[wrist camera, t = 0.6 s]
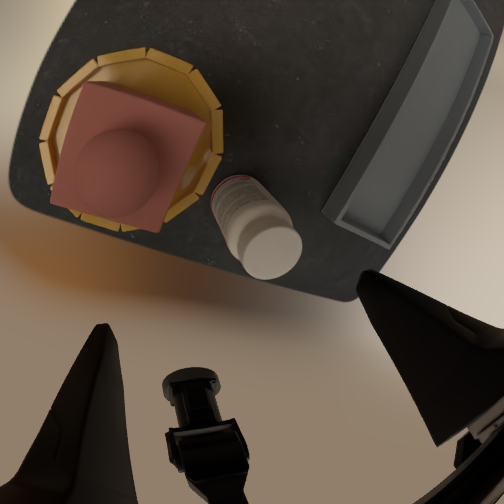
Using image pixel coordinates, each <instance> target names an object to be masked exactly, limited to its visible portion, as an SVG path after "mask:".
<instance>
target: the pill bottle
mask: <svg viewBox="0 0 504 504" xmlns="http://www.w3.org/2000/svg"><path fill="white" fill-rule="evenodd" d="M211 209H212V213H213V215H214V217H215V219H216V221H217V223H218V226H219V228H220V230H221V232H222V235H223V237H224V239H225V241H226V244H227V246H228V248H229V250H230V252H231V253H232V254H233V256H234V257H235V258H237V259H238V260H240V261H241V263H242V264H243V266H244V268H245V270H246V271H247V272H248V273H249V274H250V275H251V276H253V277H255V278H258V279H264V280H266V279H273V278H277V277H279V276H281V275H283V274H285V273H287V272H288V271H289V270H290V269H291V268H292V267H293V266H294V265H295V264H296V263H297V261H298V259H299V258H300V255H301V252H302V241H301V238H300V236H299V234H298V233H297V232H296V230H295V229H294V228H293V225H292V220H291V218H290V216H289V214H288V213H287V211H286V210H285V209H284V208H283V207H282V206H281V205H280V204H279V203H278V202H277V200H276V199H275V198H274V197H273V196H272V195H271V194H270V193H269V192H268V191H267V190H266V189H265V188H264V187H263V186H262V185H261V183H260V182H258V181H257V180H256V179H254V178H253V177H250V176H247V175H234V176H230V177H228V178H226V179H224V180H223V181H222V182H221V183H220V184H219V185H218V186H217V187H216V188H215V190H214V192H213V194H212V197H211Z"/></svg>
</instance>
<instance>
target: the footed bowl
mask: <svg viewBox="0 0 504 504" xmlns="http://www.w3.org/2000/svg"><path fill="white" fill-rule="evenodd" d="M97 58H98V61H97V60H96V59H92V60H90V61H89V62H88V63H87V64H86V65H84V66H83V67H82V68H81V69H80V70H79V71H77V72H76V73H75V74H74V75H73V76H72V77H71V78H70V79H68V80H67V81H66V82H65V83H64V84H63V85H62V86H61V87H60V88H59V89H58V90H57V92H58V93H59V94H57V95H54V96H53V98H52V101H51V104H50V106H49V109H48V112H47V115H46V118H45V121H44V124H43V128H42V131H41V134H40V138H39V139H41V140H44V141H42V142H41V143H39V146H40V152H41V157H42V162H43V166H44V171H45V175H46V179H47V184H48V185H50V184H53V183H54V179H55V174H56V170H57V165H58V161H59V157H60V153H61V150H62V146H63V143H64V139H65V136H66V132H67V129H68V126H69V123H70V120H71V117H72V114H73V111H74V108H75V105H76V102H77V100H78V97H79V94H80V92H81V89H82V87H83V84H84V83H85V82H86V81H106V82H109V83H112V84H116V85H119V86H122V87H126V88H129V89H132V90H135V91H138V92H141V93H144V94H147V95H150V96H153V97H155V98H158V99H161V100H164V101H166V102H169V103H172V104H174V105H177V106H180V107H182V108H185V109H187V110H190V111H193V112H194V113H195V114H196V115H198V116H199V117H200V118H201V119H203V120H204V121H205V122H206V126H205V128H204V130H203V132H202V134H201V137H200V139H199V141H198V143H197V145H196V147H195V149H194V151H193V153H192V156H191V158H190V160H189V162H188V164H187V167H186V169H185V171H184V173H183V176H182V178H181V180H180V182H179V185H178V187H177V190H176V192H175V194H174V197H173V199H172V201H171V204H170V206H169V209H168V211H167V214H166V216H165V219H164V222H165V223H167V222H168V221H169V220H171V219H172V218H174V217H175V216H176V215H178V214H179V213H180V212H182V211H183V210H184V209H186V208H187V207H189V206H190V205H191V204H193V203H194V202H196V201H197V200H198V199H199V196H198V194H200V195H203V194H204V192H205V190H206V188H207V186H208V184H209V182H210V180H211V178H212V176H213V174H214V172H215V171H216V169H217V167H218V165H219V163H220V161H221V159H222V157H221V156H220V154H219V153H223V152H224V149H223V110H222V109H217V108H219V107H220V106H221V104H220V102H219V101H218V99H217V98H216V96H215V95H214V93H213V92H212V90H211V88H210V87H209V85H208V84H207V82H206V81H205V79H204V78H203V76H202V75H201V73H200V72H199V70H198V69H195V70H192V68H193V65H192V64H189V63H187V62H185V61H183V60H180V59H178V58H176V57H173V56H171V55H168V54H166V53H163V52H161V51H158V50H156V49H153V48H150V49H149V51H146V48H145V47H143V48H136V49H130V50H124V51H119V52H114V53H109V54H104V55H100V56H98V57H97ZM52 188H53V185H52V186H51V187H50V189H51V191H52ZM197 193H198V194H197ZM68 209H69V208H68ZM69 210H70V211H71V212H72V213H73V214H74V215H75V216H76V217H78V216H79V215H80V214H81V213H82V215H81V220H82V221H85V222H88V223H92V224H95V225H98V226H101V227H104V228H108V229H111V230H114V231H119V228H120V225H121V229H122V231H123V232H124V231H130V230H135V229H140V228H136V227H133V226H129V225H126V224H122V223H118V222H115V221H111V220H108V219H104V218H101V217H97V216H93V215H90V214H86V213H83V212H79V211H76V210H72V209H69Z"/></svg>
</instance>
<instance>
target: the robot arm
mask: <svg viewBox="0 0 504 504" xmlns="http://www.w3.org/2000/svg"><path fill="white" fill-rule="evenodd" d="M356 291H357V294H358V296H359V298H360V301H361V303H362V305H363V307H364V309H365V311H366V313H367V315H368V318H369V319H370V322H371V324H372V326H373V328H374V329H375V331H376V333H377V334H378V336H379V338H380V339H381V341H382V343H383V345H384V347H385V348H386V350H387V352H388V354H389V355H390V357H391V359H392V360H393V362H394V364H395V366H396V368H397V370H398V372H399V373H400V375H401V377H402V379H403V381H404V383H405V384H406V386H407V388H408V390H409V392H410V394H411V396H412V398H413V400H414V402H415V404H416V406H417V407H418V410H419V412H420V414H421V416H422V418H423V420H424V422H425V424H426V426H427V428H428V430H429V432H430V435H431V437H432V439H433V441H434V443H435V445H436V446H437V447H439V446H440V445H442V444H443V443H445V442H446V441H448V440H449V439H451V438H452V437H454V436H455V435H456V434H458V433H459V432H461V431H462V430H463V429H465V428H466V427H467V428H468V430H469V431H468V432H467V433H466V434H465V435H464V436H463V437H461V438H460V439H459V440H458V441H457V448H456V454H455V460H454V467H455V468H456V470H455V471H454V472H453V473H451V474H450V475H449V476H448V477H447V478H446V479H444V480H443V481H442V482H441V483H440V484H439V485H437V486H436V487H435V488H433V489H432V490H431V491H430V492H428V493H427V494H426V495H424V496H423V497H422V498H420V499H419V500H418V501H416V502H415V503H413V504H495V503H496V502H497V501H498V500H499V499H500V497H501V496H502V495H503V494H504V329H500V328H496V327H494V326H492V325H489V324H487V323H484V322H482V321H480V320H477V319H475V318H473V317H471V316H468V315H466V314H464V313H462V312H459V311H458V310H456V309H454V308H452V307H450V306H447V305H445V304H443V303H441V302H439V301H437V300H435V299H433V298H431V297H429V296H427V295H425V294H423V293H421V292H419V291H417V290H415V289H413V288H411V287H409V286H406V285H404V284H402V283H400V282H398V281H395V280H394V279H392V278H390V277H387V276H385V275H383V274H381V273H379V272H377V271H375V270H372V269H369V270H365V271H362V272H361V274H360V277H359V280H358V284H357V287H356ZM168 385H169V395H170V404H171V406H175V410H176V415H177V420H178V424H179V428H169V432H167V433H165V437H166V441H167V447H168V454H169V460H170V462H171V463H172V464H173V465H175V466H176V468H177V469H178V471H179V473H182V472H185V476H186V479H187V481H188V484H189V486H190V488H191V489H192V490H193V491H195V492H196V493H197V494H198V495H199V496H200V497H202V498H203V499H204V500H205V501H206V502H207V503H208V504H248V501H247V499H246V496H245V494H244V491H243V489H244V485H245V481H246V477H247V474H248V470H249V464H248V460H249V451H248V448H247V444H246V442H245V439H244V437H243V435H242V433H241V431H240V429H239V427H238V424H237V422H236V420H235V418H232V419H230V420H225V421H222V419H221V416H220V412H219V409H218V406H217V402H216V399H215V393H216V387H217V379H216V378H208V379H200V380H190V381H180V382H170V383H169V384H168ZM51 409H52V410H51ZM51 409H50V410H49V412H48V415H47V417H46V419H45V421H44V423H43V425H42V427H41V429H40V431H39V433H38V435H37V437H36V439H35V440H34V442H33V444H32V446H31V448H30V449H29V451H28V453H27V455H26V457H25V459H24V460H23V462H22V464H21V466H20V468H19V470H18V472H17V473H16V474H15V476H14V477H13V478H12V479H11V480H10V481H9V482H7V483H6V484H4V485H2V486H1V487H0V504H138V501H137V496H136V491H135V486H134V480H133V474H132V468H131V461H130V454H129V447H128V437H127V429H126V417H125V404H124V388H123V381H122V374H121V367H120V360H119V352H118V344H117V340H116V338H115V336H114V334H113V332H112V330H111V328H110V326H109V324H107V323H104V324H97V325H96V326H95V327H94V329H93V330H92V332H91V334H90V335H89V337H88V339H87V341H86V342H85V344H84V346H83V348H82V349H81V351H80V353H79V355H78V356H77V358H76V360H75V362H74V364H73V365H72V367H71V369H70V371H69V373H68V375H67V377H66V379H65V380H64V382H63V384H62V386H61V388H60V390H59V392H58V394H57V396H56V398H55V400H54V402H53V404H52V406H51Z"/></svg>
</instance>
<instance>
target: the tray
mask: <svg viewBox="0 0 504 504" xmlns="http://www.w3.org/2000/svg"><path fill="white" fill-rule="evenodd" d="M493 39H494V35H493V33H492V31H491V29H490V28H489V26H488V24H487V22H486V20H485V18H484V17H483V15H482V13H481V12H480V10H479V8H478V7H477V5H476V3H475V2H474V0H435V2H434V4H433V6H432V8H431V10H430V12H429V14H428V17H427V19H426V21H425V23H424V25H423V27H422V29H421V31H420V33H419V35H418V37H417V39H416V41H415V43H414V45H413V47H412V49H411V51H410V53H409V55H408V57H407V59H406V61H405V63H404V65H403V67H402V69H401V70H400V72H399V74H398V76H397V78H396V80H395V82H394V84H393V86H392V88H391V89H390V91H389V93H388V95H387V97H386V99H385V101H384V102H383V104H382V106H381V108H380V110H379V112H378V113H377V115H376V117H375V119H374V121H373V122H372V124H371V126H370V128H369V130H368V131H367V133H366V135H365V137H364V138H363V140H362V142H361V144H360V146H359V147H358V149H357V151H356V153H355V154H354V156H353V158H352V159H351V161H350V163H349V165H348V166H347V168H346V170H345V171H344V173H343V175H342V177H341V178H340V180H339V182H338V183H337V185H336V187H335V188H334V190H333V192H332V193H331V195H330V197H329V199H328V200H327V202H326V204H325V205H324V207H323V208H322V210H321V212H322V213H323V214H324V215H325V216H326V217H327V218H329V219H330V220H331V221H332V222H333V223H334V224H336V225H339V226H341V227H343V228H345V229H347V230H349V231H352V232H354V233H356V234H358V235H360V236H362V237H364V238H366V239H368V240H370V241H372V242H374V243H377V244H379V245H381V246H383V247H385V248H387V249H389V250H390V248H391V247H392V245H393V244H394V242H395V241H396V239H397V238H398V236H399V235H400V233H401V232H402V230H403V229H404V227H405V225H406V224H407V222H408V221H409V219H410V217H411V216H412V214H413V213H414V211H415V209H416V208H417V206H418V204H419V203H420V201H421V199H422V198H423V196H424V194H425V193H426V191H427V189H428V187H429V186H430V184H431V182H432V180H433V178H434V177H435V175H436V173H437V171H438V169H439V167H440V166H441V164H442V162H443V160H444V158H445V156H446V154H447V152H448V150H449V148H450V146H451V144H452V142H453V140H454V138H455V136H456V134H457V132H458V130H459V128H460V125H461V123H462V121H463V119H464V117H465V114H466V112H467V110H468V108H469V105H470V103H471V101H472V98H473V96H474V93H475V91H476V88H477V86H478V83H479V80H480V78H481V75H482V72H483V70H484V67H485V64H486V61H487V58H488V55H489V52H490V49H491V46H492V42H493Z"/></svg>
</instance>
